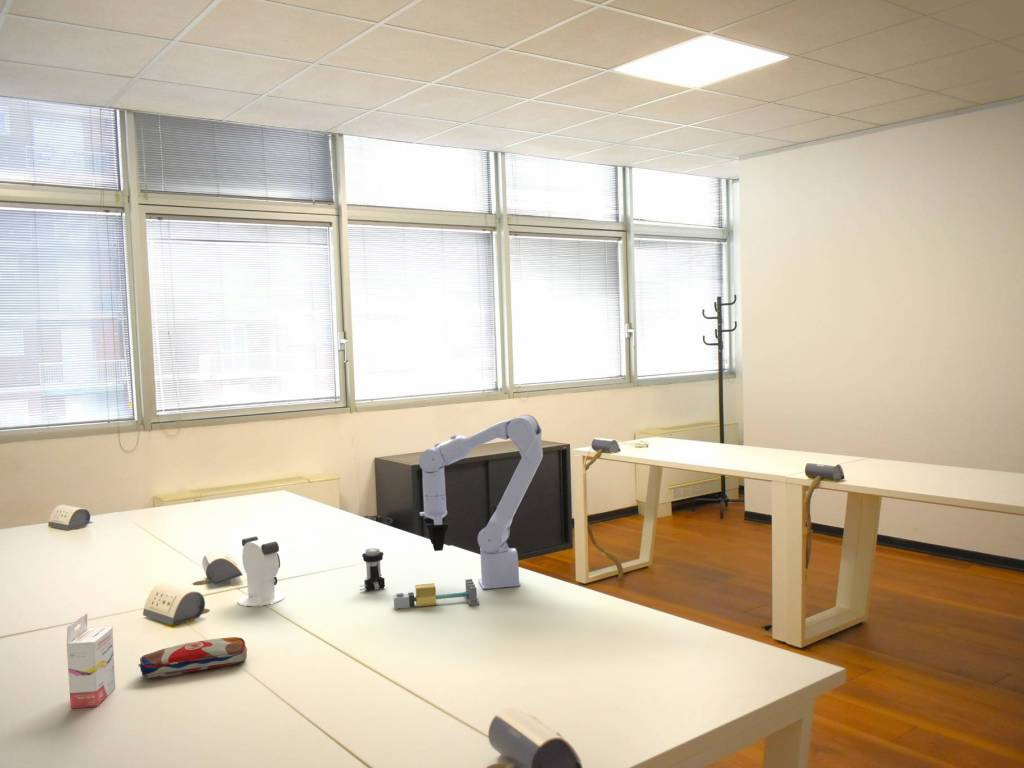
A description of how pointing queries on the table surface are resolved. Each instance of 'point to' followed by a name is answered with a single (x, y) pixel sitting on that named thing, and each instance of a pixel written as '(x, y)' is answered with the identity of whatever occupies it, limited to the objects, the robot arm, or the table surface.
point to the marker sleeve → (425, 594)
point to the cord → (449, 595)
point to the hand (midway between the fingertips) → (437, 547)
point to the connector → (401, 601)
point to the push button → (373, 570)
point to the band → (411, 599)
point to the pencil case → (193, 657)
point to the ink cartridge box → (89, 664)
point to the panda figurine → (260, 572)
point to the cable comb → (471, 592)
